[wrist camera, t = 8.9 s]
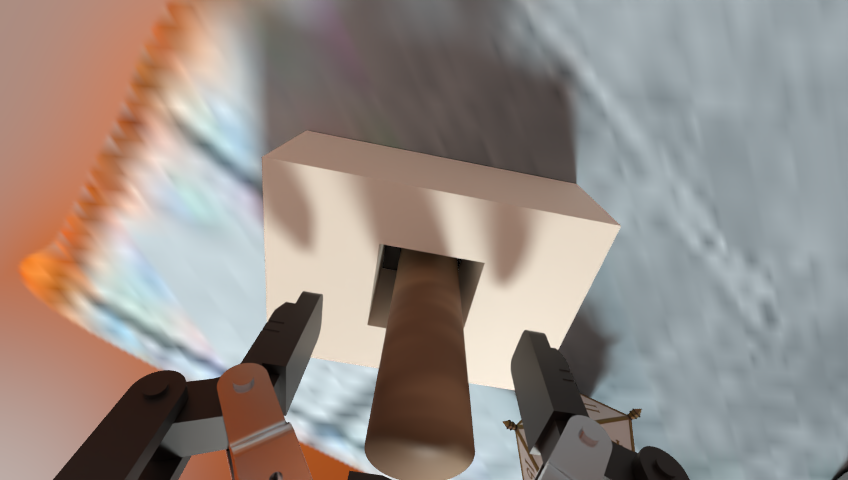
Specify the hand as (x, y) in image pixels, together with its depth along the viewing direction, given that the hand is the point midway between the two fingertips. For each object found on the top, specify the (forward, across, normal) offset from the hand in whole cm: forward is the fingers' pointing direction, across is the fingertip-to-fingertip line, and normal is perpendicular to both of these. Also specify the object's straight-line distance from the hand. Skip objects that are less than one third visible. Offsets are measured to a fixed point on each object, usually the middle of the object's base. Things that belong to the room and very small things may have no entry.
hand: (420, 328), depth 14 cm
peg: (+7, 0, 0) cm, 7 cm away
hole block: (+7, 0, 0) cm, 7 cm away
